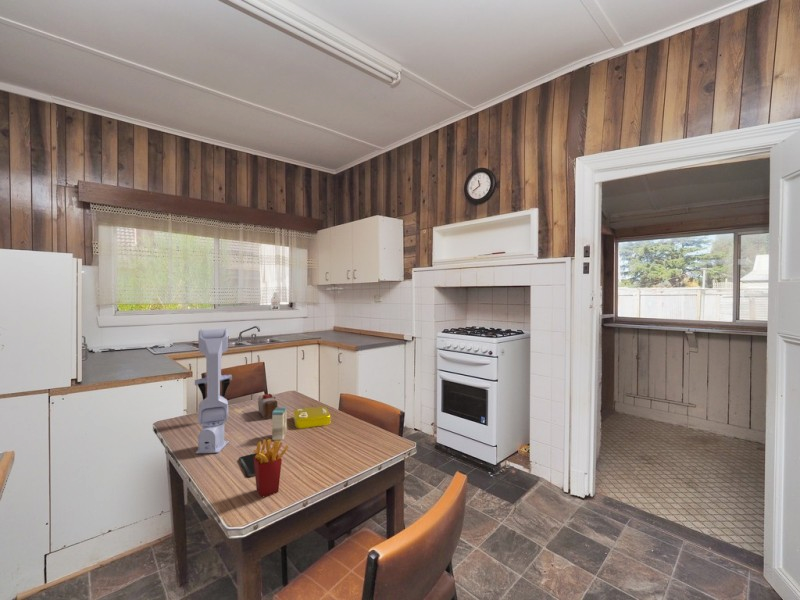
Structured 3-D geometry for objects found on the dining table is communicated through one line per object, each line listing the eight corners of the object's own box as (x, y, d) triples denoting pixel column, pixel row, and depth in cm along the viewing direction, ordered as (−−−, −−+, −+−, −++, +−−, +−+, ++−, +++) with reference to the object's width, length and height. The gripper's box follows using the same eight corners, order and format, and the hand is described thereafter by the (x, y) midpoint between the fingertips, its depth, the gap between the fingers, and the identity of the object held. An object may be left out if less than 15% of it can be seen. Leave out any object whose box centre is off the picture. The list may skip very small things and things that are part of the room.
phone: (247, 475, 109) (238, 457, 121) (247, 479, 109) (238, 460, 121) (273, 468, 114) (262, 451, 126) (273, 472, 114) (262, 454, 126)
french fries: (258, 500, 97) (258, 447, 97) (251, 487, 104) (251, 437, 104) (289, 490, 103) (289, 439, 102) (280, 478, 109) (281, 430, 109)
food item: (256, 411, 170) (256, 391, 170) (273, 409, 174) (273, 389, 174) (262, 420, 158) (262, 399, 158) (280, 417, 163) (280, 396, 163)
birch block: (282, 439, 138) (282, 412, 138) (272, 440, 137) (272, 412, 137) (286, 433, 144) (286, 407, 144) (276, 434, 143) (276, 407, 143)
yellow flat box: (331, 425, 154) (331, 414, 154) (296, 430, 149) (296, 419, 148) (325, 414, 168) (325, 404, 168) (293, 418, 162) (293, 408, 162)
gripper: (229, 363, 161) (229, 391, 163) (193, 368, 153) (193, 397, 154) (233, 368, 156) (233, 396, 158) (196, 373, 147) (196, 403, 149)
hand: (213, 397), depth 156 cm, fingers open, 7 cm apart
